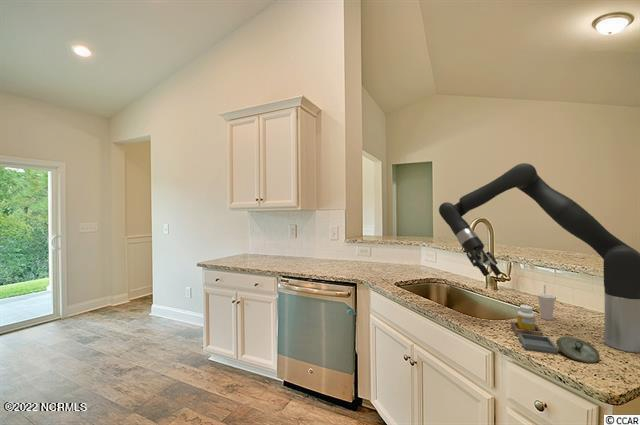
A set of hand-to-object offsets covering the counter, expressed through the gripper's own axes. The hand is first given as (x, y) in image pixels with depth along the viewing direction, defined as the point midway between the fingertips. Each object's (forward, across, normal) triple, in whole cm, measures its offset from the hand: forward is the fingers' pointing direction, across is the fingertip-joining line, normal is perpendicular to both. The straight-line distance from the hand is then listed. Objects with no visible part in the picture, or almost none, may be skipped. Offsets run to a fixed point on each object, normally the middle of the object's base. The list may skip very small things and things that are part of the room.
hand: (493, 274), depth 117 cm
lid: (+33, +1, -7) cm, 34 cm away
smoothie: (+18, +30, +6) cm, 35 cm away
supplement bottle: (+21, +8, +6) cm, 23 cm away
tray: (+27, -2, +1) cm, 27 cm away
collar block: (+21, +8, +6) cm, 23 cm away
